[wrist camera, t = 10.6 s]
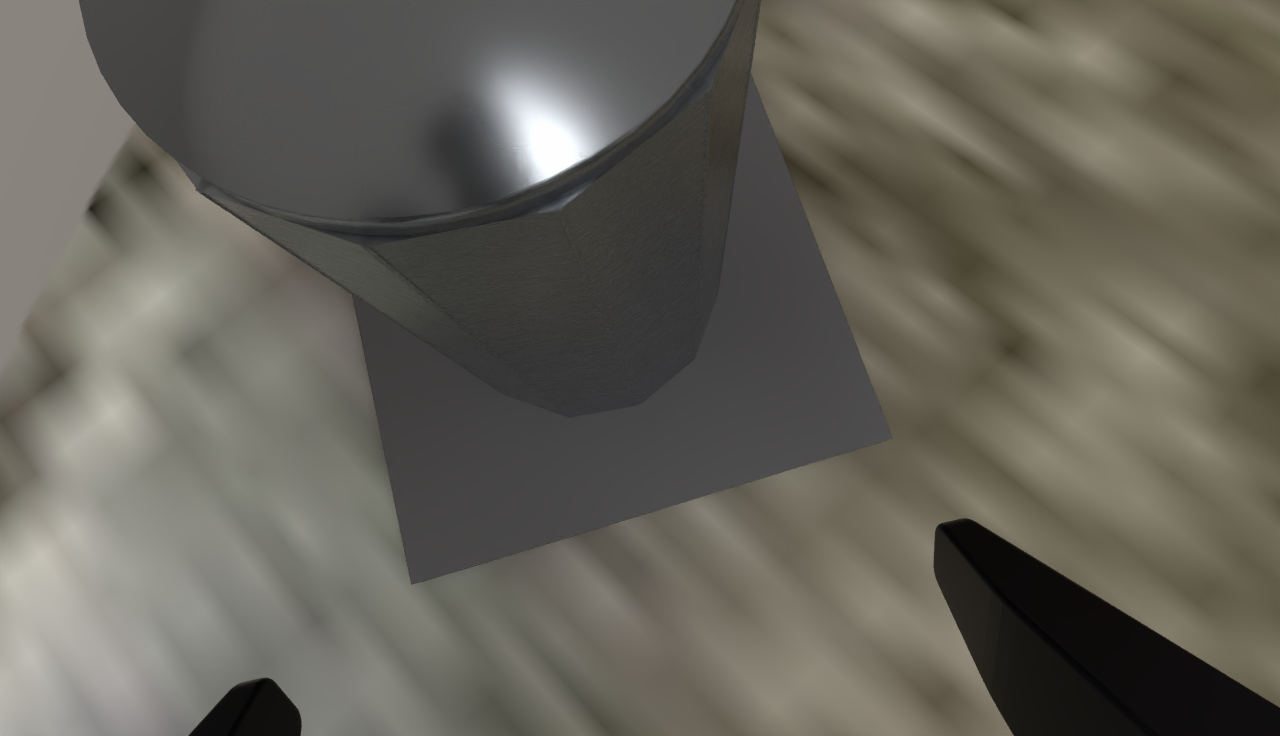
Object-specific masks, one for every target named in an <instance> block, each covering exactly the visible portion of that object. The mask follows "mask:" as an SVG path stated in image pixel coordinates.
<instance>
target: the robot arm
mask: <svg viewBox="0 0 1280 736" xmlns="http://www.w3.org/2000/svg"><path fill="white" fill-rule="evenodd" d="M934 573H935V577H936V580H937V582H938V585H939V587H940V589H941V591H942V593H943V596H944V598H945V600H946V602H947V604H948V606H949V608H950V611H951V613H952V615H953V617H954V619H955V621H956V623H957V626H958V628H959V630H960V632H961V634H962V636H963V639H964V641H965V643H966V645H967V647H968V649H969V651H970V654H971V656H972V658H973V660H974V662H975V664H976V666H977V669H978V671H979V673H980V675H981V677H982V679H983V681H984V683H985V685H986V687H987V689H988V691H989V693H990V695H991V697H992V699H993V701H994V703H995V704H996V706H997V708H998V710H999V711H1000V713H1001V715H1002V717H1003V718H1004V720H1005V722H1006V723H1007V725H1008V727H1009V728H1010V730H1011V732H1012V733H1013V735H1014V736H1280V708H1279V707H1278V706H1276V705H1274V704H1273V703H1271V702H1270V701H1268V700H1266V699H1265V698H1263V697H1261V696H1260V695H1258V694H1256V693H1255V692H1253V691H1252V690H1250V689H1248V688H1247V687H1245V686H1243V685H1242V684H1240V683H1239V682H1237V681H1235V680H1234V679H1232V678H1230V677H1229V676H1227V675H1225V674H1224V673H1222V672H1221V671H1219V670H1217V669H1216V668H1214V667H1212V666H1211V665H1209V664H1207V663H1206V662H1204V661H1203V660H1201V659H1199V658H1198V657H1196V656H1194V655H1193V654H1191V653H1189V652H1188V651H1186V650H1185V649H1183V648H1181V647H1180V646H1178V645H1176V644H1175V643H1173V642H1171V641H1170V640H1168V639H1167V638H1165V637H1163V636H1162V635H1160V634H1158V633H1157V632H1155V631H1153V630H1152V629H1150V628H1149V627H1147V626H1145V625H1144V624H1142V623H1140V622H1139V621H1137V620H1135V619H1134V618H1132V617H1131V616H1129V615H1127V614H1126V613H1124V612H1122V611H1121V610H1119V609H1118V608H1116V607H1114V606H1113V605H1111V604H1109V603H1108V602H1106V601H1104V600H1103V599H1101V598H1100V597H1098V596H1096V595H1095V594H1093V593H1091V592H1090V591H1088V590H1086V589H1085V588H1083V587H1082V586H1080V585H1078V584H1077V583H1075V582H1073V581H1072V580H1070V579H1068V578H1067V577H1065V576H1064V575H1062V574H1060V573H1059V572H1057V571H1055V570H1054V569H1052V568H1050V567H1049V566H1047V565H1046V564H1044V563H1042V562H1041V561H1039V560H1037V559H1036V558H1034V557H1032V556H1031V555H1029V554H1028V553H1026V552H1024V551H1023V550H1021V549H1019V548H1018V547H1016V546H1014V545H1013V544H1011V543H1010V542H1008V541H1006V540H1005V539H1003V538H1001V537H1000V536H998V535H996V534H995V533H993V532H992V531H990V530H988V529H987V528H985V527H983V526H982V525H980V524H979V523H977V522H975V521H973V520H971V519H966V518H965V519H958V520H954V521H949V522H945V523H941V524H939V525H938V526H937V528H936V530H935V543H934ZM301 726H302V725H301V716H300V713H299V710H298V709H297V707H296V706H295V705H294V704H293V703H292V701H291V700H290V699H289V698H288V697H287V695H286V694H285V693H284V692H283V691H282V690H281V688H280V687H279V686H278V685H277V684H276V683H275V682H274V681H273V680H272V679H270V678H260V679H255V680H251V681H246V682H242V683H240V684H237V685H236V686H234V687H233V688H232V689H231V690H230V691H229V692H228V693H227V694H226V695H225V696H224V697H223V698H222V699H221V700H220V701H219V702H218V704H217V705H216V706H215V707H214V708H213V709H212V710H211V711H210V712H209V713H208V715H207V716H206V717H205V718H204V719H203V720H202V721H201V722H200V723H199V724H198V726H197V727H196V728H195V729H194V730H193V731H192V732H191V733H190V734H189V735H188V736H301Z"/></svg>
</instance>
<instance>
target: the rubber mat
mask: <svg viewBox="0 0 1280 736" xmlns="http://www.w3.org/2000/svg"><path fill="white" fill-rule="evenodd" d="M352 296H353V300H354V305H355V310H356V315H357V320H358V325H359V330H360V335H361V340H362V345H363V350H364V354H365V359H366V364H367V369H368V374H369V379H370V384H371V389H372V394H373V399H374V404H375V408H376V413H377V418H378V423H379V428H380V433H381V438H382V443H383V448H384V453H385V458H386V462H387V467H388V472H389V477H390V482H391V487H392V492H393V497H394V502H395V507H396V512H397V516H398V521H399V526H400V531H401V536H402V541H403V546H404V551H405V556H406V561H407V566H408V570H409V575H410V580H411V584H415V583H419V582H423V581H427V580H430V579H433V578H436V577H440V576H443V575H446V574H450V573H453V572H456V571H459V570H463V569H466V568H469V567H473V566H476V565H479V564H482V563H486V562H489V561H492V560H495V559H499V558H502V557H505V556H509V555H512V554H515V553H518V552H522V551H525V550H528V549H532V548H535V547H538V546H541V545H545V544H548V543H551V542H554V541H558V540H561V539H564V538H568V537H571V536H574V535H577V534H581V533H584V532H587V531H591V530H594V529H597V528H600V527H604V526H607V525H610V524H614V523H617V522H620V521H623V520H627V519H630V518H633V517H636V516H640V515H643V514H646V513H650V512H653V511H656V510H659V509H663V508H666V507H669V506H673V505H676V504H679V503H682V502H686V501H689V500H692V499H696V498H699V497H702V496H705V495H709V494H712V493H715V492H718V491H722V490H725V489H728V488H732V487H735V486H738V485H741V484H745V483H748V482H751V481H755V480H758V479H761V478H764V477H768V476H771V475H774V474H777V473H781V472H784V471H787V470H791V469H794V468H797V467H800V466H804V465H807V464H810V463H814V462H817V461H820V460H823V459H827V458H830V457H833V456H837V455H840V454H843V453H846V452H850V451H853V450H856V449H859V448H863V447H866V446H869V445H873V444H876V443H879V442H882V441H885V440H888V439H891V438H892V436H891V433H890V431H889V428H888V425H887V423H886V420H885V418H884V415H883V413H882V410H881V407H880V405H879V402H878V400H877V397H876V395H875V392H874V389H873V387H872V384H871V382H870V379H869V377H868V374H867V371H866V369H865V366H864V364H863V361H862V359H861V356H860V353H859V351H858V348H857V346H856V343H855V340H854V338H853V335H852V333H851V330H850V328H849V325H848V322H847V320H846V317H845V315H844V312H843V310H842V307H841V304H840V302H839V299H838V297H837V294H836V292H835V289H834V286H833V284H832V281H831V279H830V276H829V274H828V271H827V268H826V266H825V263H824V261H823V258H822V256H821V253H820V250H819V248H818V245H817V243H816V240H815V238H814V235H813V232H812V230H811V227H810V225H809V222H808V219H807V217H806V214H805V212H804V209H803V207H802V204H801V201H800V199H799V196H798V194H797V191H796V189H795V186H794V183H793V181H792V178H791V176H790V173H789V171H788V168H787V165H786V163H785V160H784V158H783V155H782V153H781V150H780V147H779V145H778V142H777V140H776V137H775V135H774V132H773V129H772V127H771V124H770V122H769V119H768V117H767V114H766V111H765V109H764V106H763V104H762V101H761V98H760V96H759V93H758V91H757V88H756V86H755V83H754V80H753V78H752V75H751V73H750V79H749V86H748V93H747V100H746V107H745V113H744V120H743V127H742V134H741V141H740V147H739V154H738V161H737V168H736V175H735V182H734V188H733V195H732V202H731V209H730V216H729V223H728V229H727V236H726V243H725V250H724V257H723V264H722V270H721V277H720V284H719V291H718V296H717V298H716V301H715V303H714V306H713V309H712V312H711V315H710V317H709V320H708V323H707V326H706V329H705V331H704V334H703V337H702V340H701V343H700V346H699V348H698V351H697V354H696V358H695V360H693V361H692V362H691V363H690V364H688V365H687V366H686V367H685V368H684V369H682V370H681V371H680V372H679V373H678V374H676V375H675V376H674V377H673V378H672V379H671V380H669V381H668V382H667V383H666V384H665V385H663V386H662V387H661V388H660V389H659V390H657V391H656V392H655V393H654V394H653V395H651V396H650V397H649V398H648V399H647V400H646V401H644V402H643V403H642V404H641V405H640V406H639V405H638V406H632V407H627V408H621V409H616V410H611V411H605V412H600V413H594V414H589V415H584V416H578V417H573V418H567V417H565V416H562V415H560V414H557V413H554V412H551V411H548V410H546V409H543V408H540V407H537V406H535V405H532V404H529V403H526V402H523V401H521V400H518V399H515V398H512V397H509V396H507V395H503V394H502V393H500V392H499V391H497V390H496V389H494V388H493V387H491V386H490V385H488V384H487V383H485V382H484V381H482V380H481V379H479V378H478V377H476V376H475V375H473V374H472V373H470V372H469V371H467V370H466V369H464V368H463V367H461V366H460V365H458V364H457V363H455V362H454V361H452V360H451V359H449V358H448V357H446V356H445V355H443V354H442V353H440V352H439V351H437V350H436V349H434V348H433V347H431V346H430V345H428V344H427V343H425V342H423V341H422V340H420V339H419V338H417V337H416V336H414V335H413V334H411V333H410V332H408V331H407V330H405V329H404V328H402V327H401V326H399V325H398V324H396V323H395V322H393V321H392V320H390V319H389V318H387V317H386V316H384V315H383V314H381V313H380V312H378V311H377V310H375V309H374V308H372V307H371V306H369V305H368V304H366V303H365V302H363V301H362V300H360V299H359V298H357V297H356V296H354V295H353V294H352Z"/></svg>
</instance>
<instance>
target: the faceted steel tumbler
mask: <svg viewBox="0 0 1280 736" xmlns="http://www.w3.org/2000/svg"><path fill="white" fill-rule="evenodd" d="M79 3H80V7H81V12H82V17H83V21H84V26H85V30H86V35H87V39H88V41H89V44H90V46H91V49H92V51H93V54H94V56H95V59H96V61H97V64H98V67H99V69H100V72H101V74H102V75H103V76H104V78H105V80H106V82H107V83H108V85H109V87H110V88H111V90H112V92H113V93H114V95H115V97H116V98H117V100H118V102H119V103H120V105H121V106H122V107H123V108H124V110H125V111H126V112H127V113H128V114H129V115H130V116H131V117H132V119H133V120H134V121H135V122H136V124H137V125H138V126H139V127H140V128H141V129H142V130H143V132H144V133H145V134H146V135H147V136H148V137H149V138H151V139H152V140H153V141H154V142H155V143H157V144H158V145H159V146H160V147H161V148H163V149H164V150H165V151H166V152H167V153H169V154H170V155H171V156H172V157H173V158H175V160H176V161H177V162H178V164H179V165H180V166H181V168H182V169H183V170H184V172H185V173H186V175H187V176H188V177H189V179H190V180H191V181H192V183H193V184H194V185H195V187H196V188H197V189H196V191H198V192H199V193H200V194H202V195H203V196H205V197H206V198H208V199H209V200H211V201H212V202H214V203H215V204H217V205H218V206H220V207H221V208H223V209H225V210H226V211H228V212H229V213H231V214H232V215H234V216H235V217H237V218H238V219H240V220H241V221H243V222H244V223H246V224H247V225H249V226H250V227H252V228H253V229H255V230H256V231H258V232H259V233H261V234H262V235H264V236H265V237H267V238H268V239H270V240H271V241H273V242H274V243H276V244H277V245H279V246H280V247H282V248H283V249H285V250H286V251H288V252H289V253H291V254H292V255H294V256H295V257H297V258H298V259H300V260H301V261H303V262H304V263H306V264H307V265H309V266H310V267H312V268H313V269H315V270H316V271H318V272H319V273H321V274H322V275H324V276H326V277H327V278H329V279H330V280H332V281H333V282H335V283H336V284H338V285H339V286H341V287H342V288H344V289H345V290H347V291H348V292H350V293H351V294H353V295H354V296H356V297H357V298H359V299H360V300H362V301H363V302H365V303H366V304H368V305H369V306H371V307H372V308H374V309H375V310H377V311H378V312H380V313H381V314H383V315H384V316H386V317H387V318H389V319H390V320H392V321H393V322H395V323H396V324H398V325H399V326H401V327H402V328H404V329H405V330H407V331H408V332H410V333H411V334H413V335H414V336H416V337H417V338H419V339H420V340H422V341H423V342H425V343H427V344H428V345H430V346H431V347H433V348H434V349H436V350H437V351H439V352H440V353H442V354H443V355H445V356H446V357H448V358H449V359H451V360H452V361H454V362H455V363H457V364H458V365H460V366H461V367H463V368H464V369H466V370H467V371H469V372H470V373H472V374H473V375H475V376H476V377H478V378H479V379H481V380H482V381H484V382H485V383H487V384H488V385H490V386H491V387H493V388H494V389H496V390H497V391H499V392H500V393H502V394H503V395H507V396H509V397H512V398H515V399H518V400H521V401H523V402H526V403H529V404H532V405H535V406H537V407H540V408H543V409H546V410H548V411H551V412H554V413H557V414H560V415H562V416H565V417H567V418H573V417H578V416H584V415H589V414H594V413H600V412H605V411H611V410H616V409H621V408H627V407H632V406H638V405H639V406H640V405H641V404H642V403H643V402H644V401H646V400H647V399H648V398H649V397H650V396H651V395H653V394H654V393H655V392H656V391H657V390H659V389H660V388H661V387H662V386H663V385H665V384H666V383H667V382H668V381H669V380H671V379H672V378H673V377H674V376H675V375H676V374H678V373H679V372H680V371H681V370H682V369H684V368H685V367H686V366H687V365H688V364H690V363H691V362H692V361H693V360H695V358H696V354H697V351H698V348H699V346H700V343H701V340H702V337H703V334H704V331H705V329H706V326H707V323H708V320H709V317H710V315H711V312H712V309H713V306H714V303H715V301H716V298H717V296H718V291H719V284H720V277H721V270H722V264H723V257H724V250H725V243H726V236H727V229H728V223H729V216H730V209H731V202H732V195H733V188H734V182H735V175H736V168H737V161H738V154H739V147H740V141H741V134H742V127H743V120H744V113H745V107H746V100H747V93H748V86H749V79H750V72H751V66H752V59H753V52H754V45H755V38H756V31H757V25H758V18H759V11H760V4H761V0H79Z"/></svg>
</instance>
